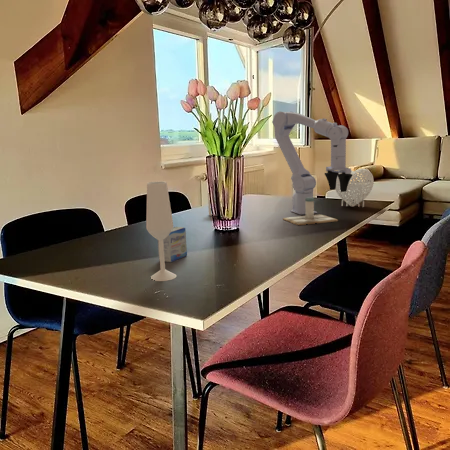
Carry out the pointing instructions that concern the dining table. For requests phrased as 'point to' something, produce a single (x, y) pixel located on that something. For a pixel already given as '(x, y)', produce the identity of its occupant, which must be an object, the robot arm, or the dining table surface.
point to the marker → (309, 208)
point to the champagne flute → (159, 222)
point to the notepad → (303, 221)
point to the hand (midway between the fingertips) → (337, 190)
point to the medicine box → (175, 245)
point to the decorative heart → (356, 187)
